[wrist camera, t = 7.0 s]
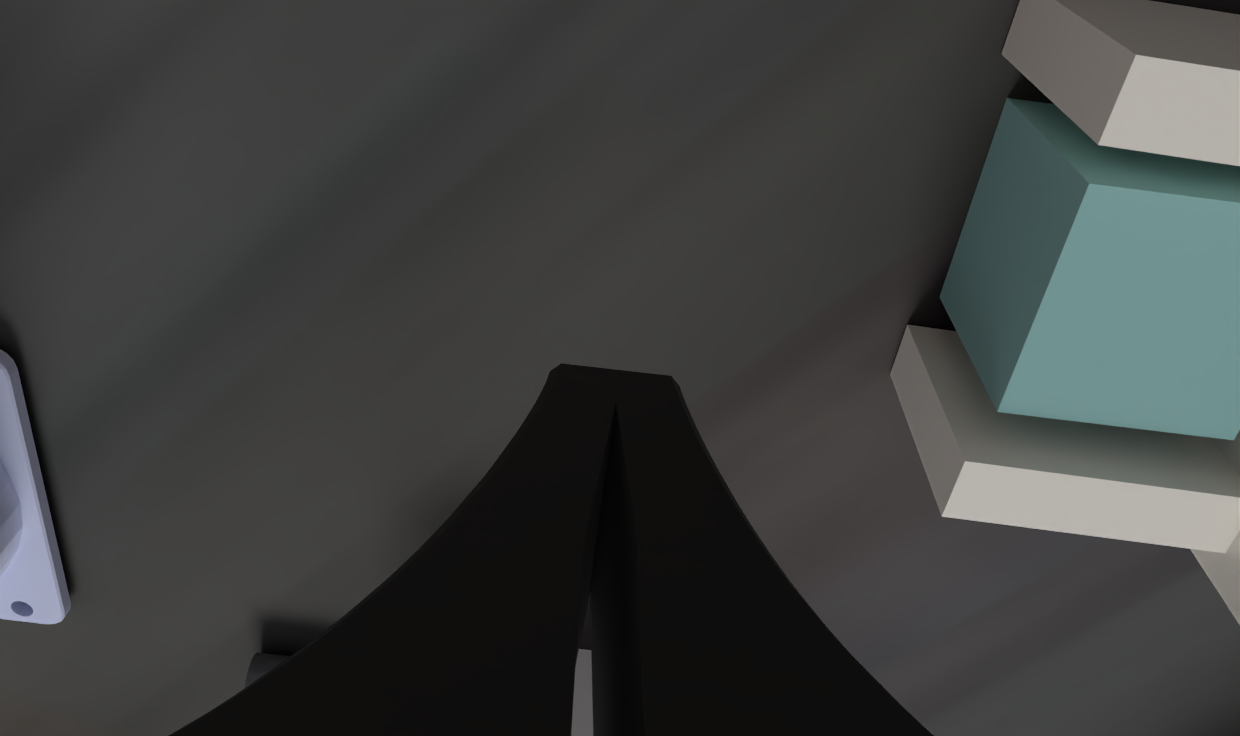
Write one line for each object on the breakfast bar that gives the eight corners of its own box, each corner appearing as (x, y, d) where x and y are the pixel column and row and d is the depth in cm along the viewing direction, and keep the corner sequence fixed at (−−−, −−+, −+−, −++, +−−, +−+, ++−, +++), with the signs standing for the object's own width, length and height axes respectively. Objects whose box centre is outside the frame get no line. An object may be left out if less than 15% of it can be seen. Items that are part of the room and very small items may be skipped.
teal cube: (938, 295, 20) (996, 412, 16) (1005, 96, 17) (1089, 183, 14) (1137, 319, 20) (1236, 440, 16) (1228, 126, 18) (1364, 219, 14)
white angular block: (881, 397, 21) (946, 589, 16) (1039, -58, 16) (1197, 28, 11) (1166, 436, 21) (1309, 634, 16) (1406, 1, 16) (1705, 108, 12)
